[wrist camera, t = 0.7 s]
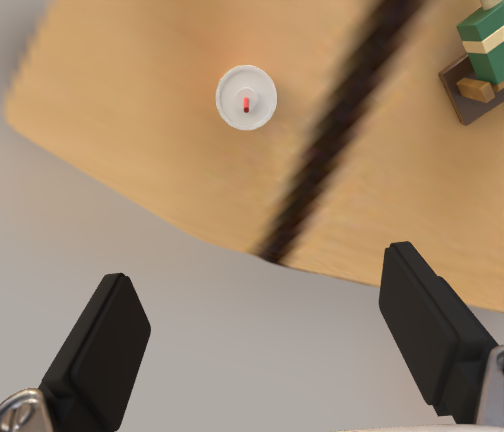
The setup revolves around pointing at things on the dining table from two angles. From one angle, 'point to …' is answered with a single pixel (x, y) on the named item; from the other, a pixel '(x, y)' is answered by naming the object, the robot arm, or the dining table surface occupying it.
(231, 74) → the beverage cup
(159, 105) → the dining table surface
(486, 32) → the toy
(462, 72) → the toy stand
